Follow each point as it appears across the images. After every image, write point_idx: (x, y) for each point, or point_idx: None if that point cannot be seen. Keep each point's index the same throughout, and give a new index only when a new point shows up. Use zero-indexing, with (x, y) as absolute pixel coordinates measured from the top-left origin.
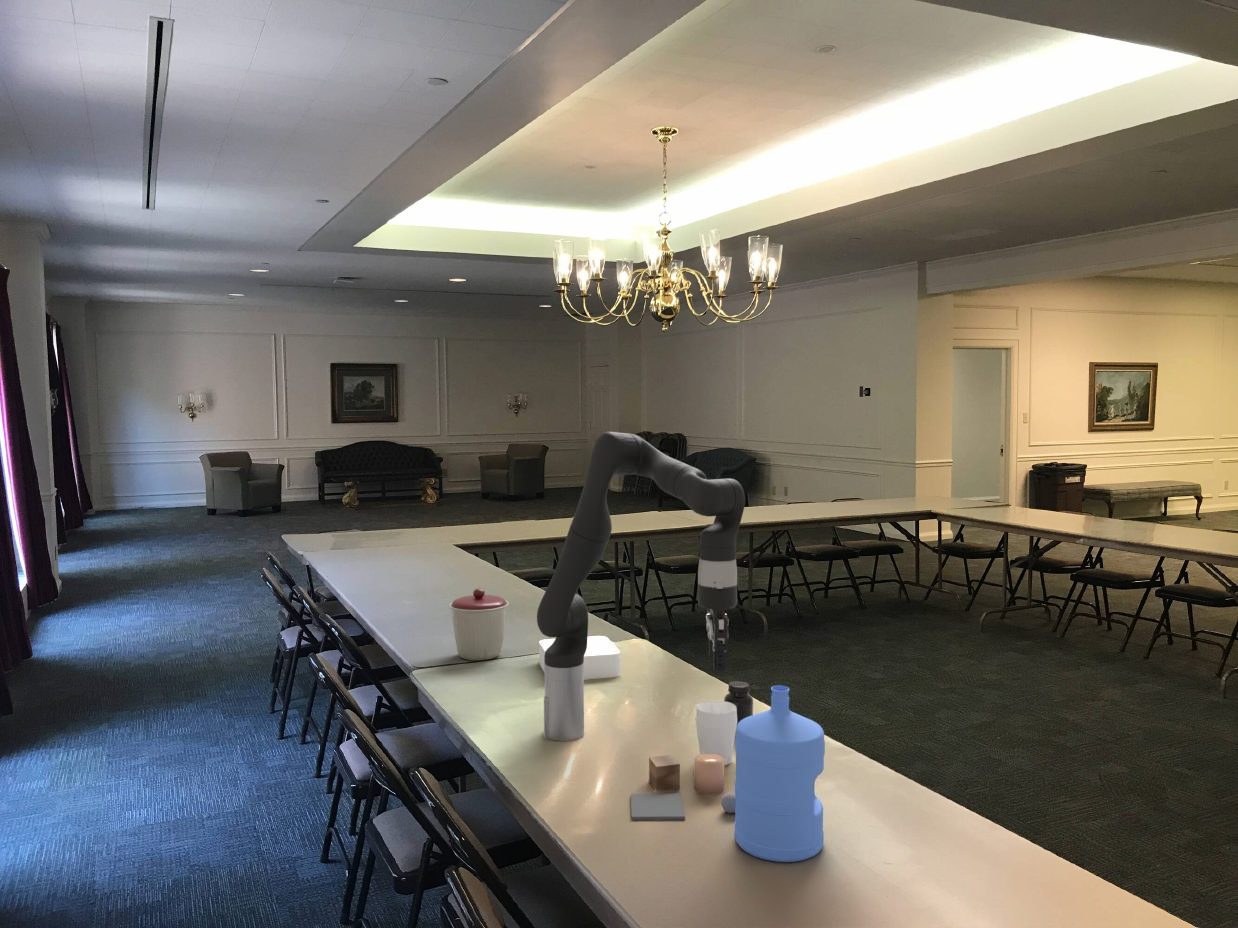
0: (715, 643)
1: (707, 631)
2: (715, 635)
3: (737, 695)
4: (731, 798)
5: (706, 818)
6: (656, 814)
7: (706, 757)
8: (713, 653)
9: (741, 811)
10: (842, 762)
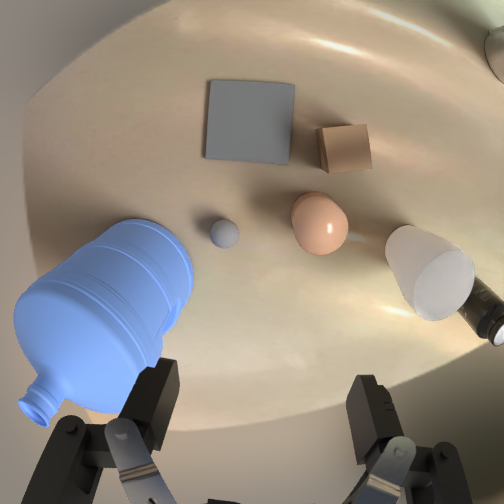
0: (50, 442)
1: (368, 479)
2: (35, 475)
3: (490, 323)
4: (213, 236)
5: (208, 190)
6: (214, 116)
7: (330, 225)
8: (356, 397)
9: (98, 237)
10: (351, 384)
